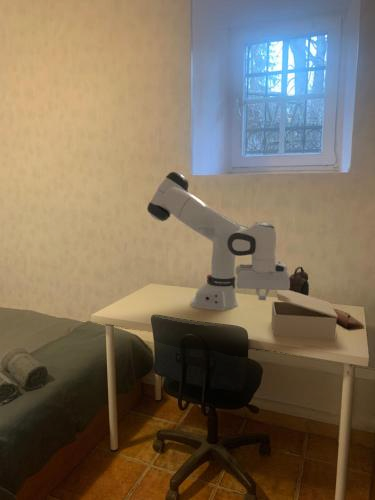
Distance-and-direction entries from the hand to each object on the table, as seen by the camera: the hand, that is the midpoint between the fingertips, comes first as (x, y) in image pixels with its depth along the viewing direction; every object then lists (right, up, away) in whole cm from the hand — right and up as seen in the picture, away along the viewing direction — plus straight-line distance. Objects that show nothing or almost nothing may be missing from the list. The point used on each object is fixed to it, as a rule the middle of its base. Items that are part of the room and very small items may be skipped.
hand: (262, 299), depth 148 cm
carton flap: (+16, -1, 0) cm, 16 cm away
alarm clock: (+22, -8, +30) cm, 38 cm away
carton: (+16, -14, +2) cm, 21 cm away
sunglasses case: (+39, -12, +14) cm, 43 cm away
